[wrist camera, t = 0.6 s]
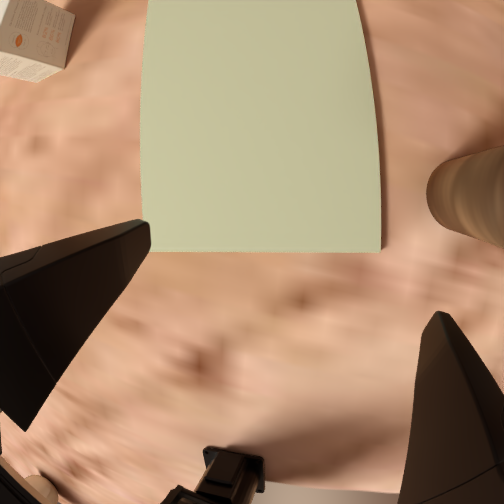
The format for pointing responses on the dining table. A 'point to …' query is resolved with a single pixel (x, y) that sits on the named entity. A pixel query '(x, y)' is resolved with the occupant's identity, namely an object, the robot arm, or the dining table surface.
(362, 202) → the placemat
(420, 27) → the dining table surface
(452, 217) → the pepper mill
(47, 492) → the white tall cylinder
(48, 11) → the small box
